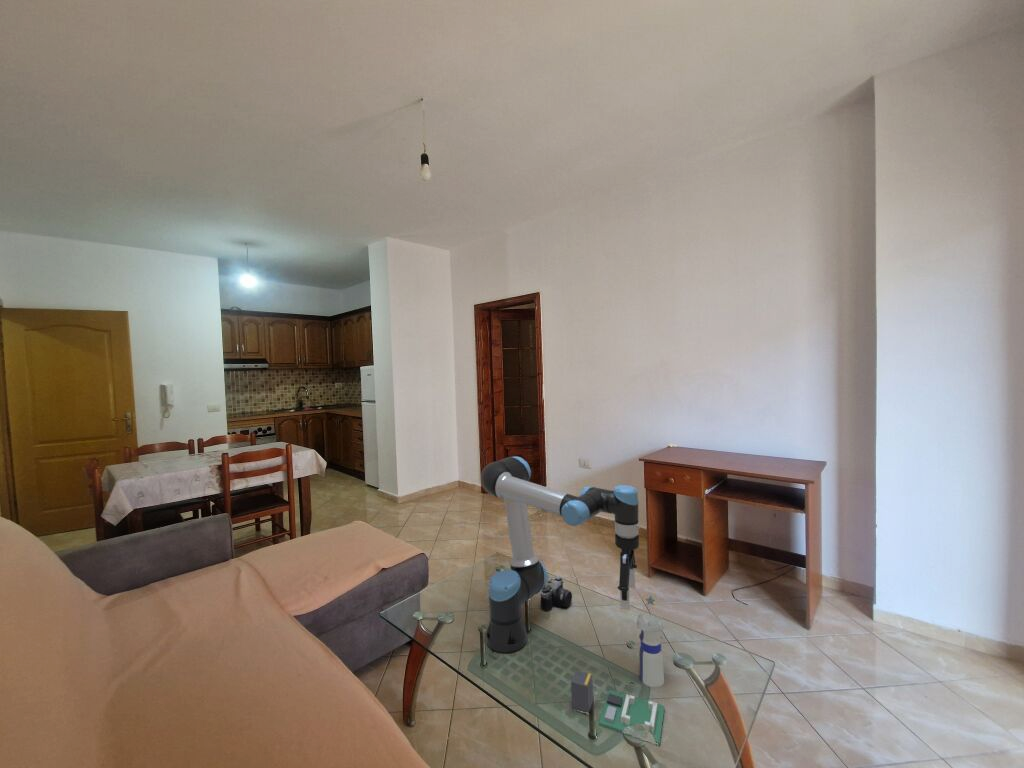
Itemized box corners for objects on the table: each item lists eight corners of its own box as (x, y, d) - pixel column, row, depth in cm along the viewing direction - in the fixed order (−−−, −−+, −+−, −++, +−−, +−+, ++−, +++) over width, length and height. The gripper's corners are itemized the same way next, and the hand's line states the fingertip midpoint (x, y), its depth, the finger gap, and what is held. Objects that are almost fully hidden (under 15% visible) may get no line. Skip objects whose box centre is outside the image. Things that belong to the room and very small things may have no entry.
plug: (572, 711, 122) (571, 680, 121) (577, 699, 126) (576, 669, 126) (588, 717, 120) (587, 685, 119) (593, 704, 124) (592, 673, 124)
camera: (560, 618, 168) (559, 594, 167) (538, 610, 173) (537, 587, 173) (577, 599, 180) (576, 577, 180) (556, 593, 186) (555, 571, 186)
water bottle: (633, 670, 138) (631, 595, 137) (658, 667, 138) (656, 593, 137) (642, 689, 129) (640, 610, 128) (669, 686, 130) (667, 608, 129)
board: (599, 726, 116) (598, 715, 116) (609, 693, 128) (609, 683, 128) (659, 747, 109) (659, 735, 109) (664, 710, 121) (664, 699, 121)
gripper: (633, 551, 123) (635, 621, 124) (642, 522, 146) (643, 581, 147) (608, 548, 126) (609, 616, 127) (621, 519, 149) (622, 577, 150)
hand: (628, 597), depth 137 cm, fingers open, 13 cm apart
